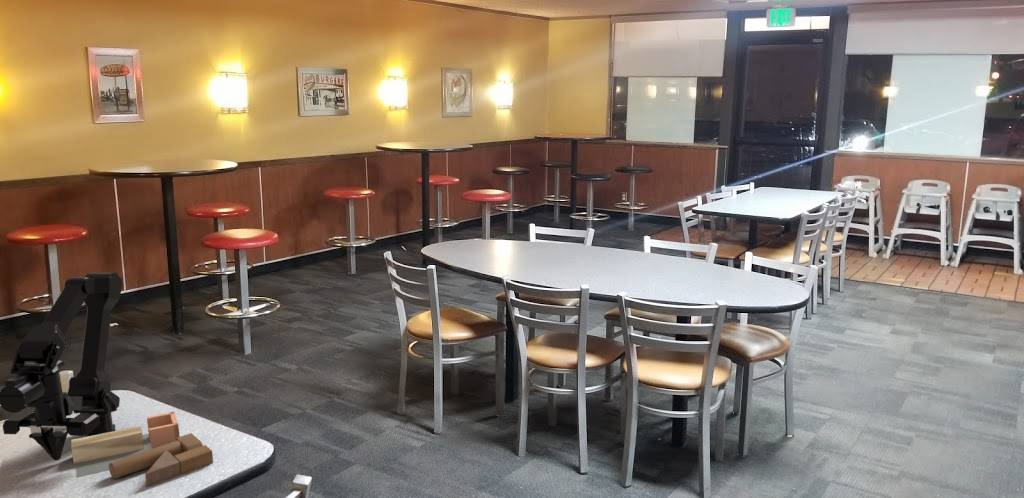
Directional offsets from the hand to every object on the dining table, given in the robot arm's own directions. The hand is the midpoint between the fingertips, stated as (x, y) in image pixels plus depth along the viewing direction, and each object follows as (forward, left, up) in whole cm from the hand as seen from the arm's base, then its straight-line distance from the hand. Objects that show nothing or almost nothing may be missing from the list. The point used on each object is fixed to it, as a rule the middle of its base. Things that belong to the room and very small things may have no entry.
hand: (57, 459), depth 170 cm
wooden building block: (0, +10, -1) cm, 10 cm away
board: (+2, +14, -2) cm, 14 cm away
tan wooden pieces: (+12, +29, +1) cm, 31 cm away
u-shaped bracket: (0, +21, -2) cm, 21 cm away
